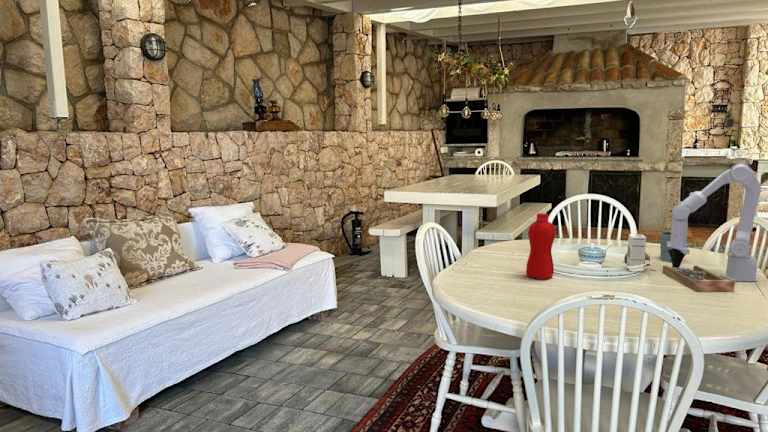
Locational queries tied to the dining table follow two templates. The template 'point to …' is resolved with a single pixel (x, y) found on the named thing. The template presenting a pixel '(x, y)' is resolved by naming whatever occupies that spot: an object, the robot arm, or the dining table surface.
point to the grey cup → (665, 238)
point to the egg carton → (691, 273)
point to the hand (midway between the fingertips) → (675, 267)
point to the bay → (702, 281)
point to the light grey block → (645, 257)
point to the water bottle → (540, 248)
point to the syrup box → (636, 249)
